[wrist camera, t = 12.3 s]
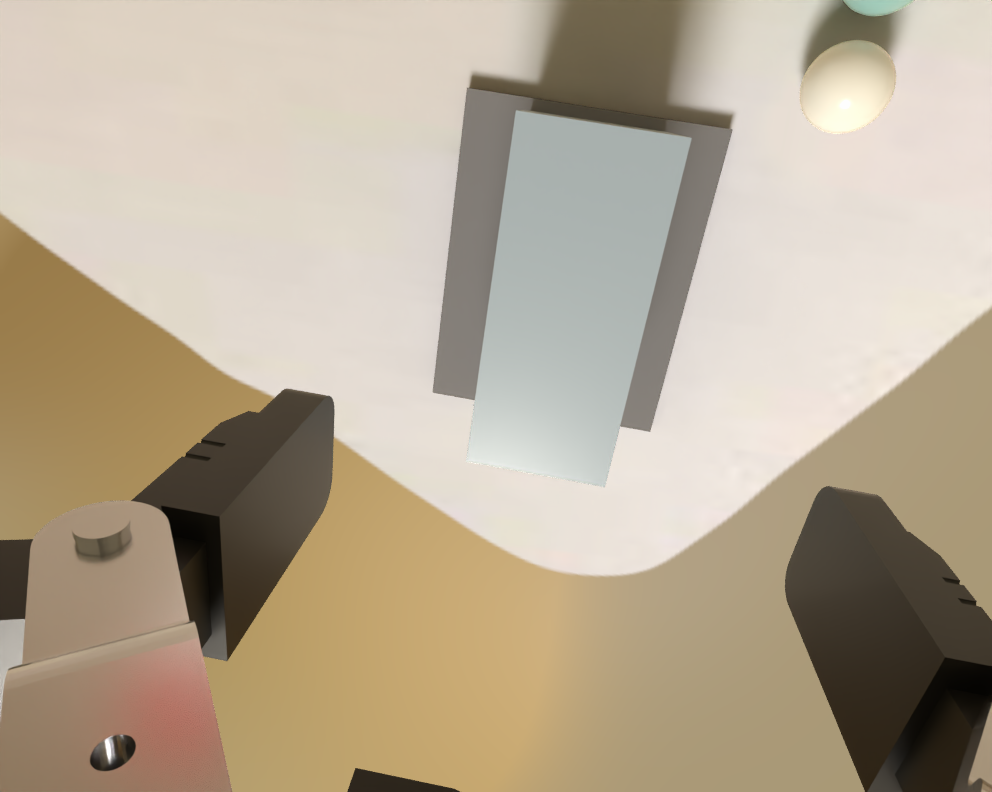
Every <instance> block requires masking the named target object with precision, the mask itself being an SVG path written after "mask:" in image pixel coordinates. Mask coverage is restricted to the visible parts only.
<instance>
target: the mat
mask: <svg viewBox="0 0 992 792" xmlns="http://www.w3.org/2000/svg"><path fill="white" fill-rule="evenodd" d="M516 110H524V111H536V112H542V113H549V114H555V115H561V116H568V117H574V118H581V119H587V120H593V121H600V122H606V123H613V124H619V125H625V126H632V127H638V128H644V129H651V130H657V131H664V132H668V133H673V134H677V135H681V136H686V137H690V138H692V139H691V143H690V147H689V151H688V155H687V159H686V163H685V167H684V171H683V175H682V179H681V183H680V187H679V191H678V195H677V199H676V203H675V207H674V211H673V215H672V219H671V223H670V227H669V231H668V235H667V240H666V244H665V248H664V252H663V256H662V260H661V264H660V268H659V272H658V276H657V280H656V284H655V288H654V292H653V296H652V300H651V304H650V308H649V312H648V316H647V320H646V324H645V328H644V332H643V336H642V340H641V344H640V348H639V352H638V356H637V360H636V364H635V368H634V372H633V376H632V380H631V384H630V388H629V392H628V396H627V400H626V404H625V408H624V412H623V416H622V420H621V424H620V426H621V427H627V428H633V429H638V430H644V431H649V432H650V430H651V426H652V423H653V419H654V415H655V412H656V408H657V404H658V401H659V397H660V393H661V390H662V386H663V382H664V379H665V375H666V371H667V368H668V364H669V360H670V357H671V353H672V349H673V346H674V342H675V338H676V335H677V331H678V327H679V324H680V320H681V316H682V313H683V309H684V305H685V302H686V298H687V294H688V291H689V287H690V283H691V280H692V276H693V272H694V269H695V265H696V261H697V258H698V254H699V250H700V247H701V243H702V239H703V236H704V232H705V228H706V225H707V221H708V217H709V214H710V210H711V206H712V203H713V199H714V195H715V192H716V188H717V184H718V181H719V177H720V173H721V170H722V166H723V162H724V159H725V155H726V151H727V148H728V144H729V140H730V137H731V133H732V129H726V128H720V127H713V126H707V125H701V124H694V123H688V122H682V121H675V120H669V119H662V118H656V117H650V116H643V115H637V114H631V113H624V112H618V111H612V110H605V109H599V108H593V107H586V106H580V105H573V104H567V103H561V102H554V101H548V100H542V99H535V98H529V97H523V96H516V95H510V94H504V93H497V92H491V91H484V90H478V89H472V88H467V93H466V102H465V111H464V120H463V129H462V138H461V146H460V155H459V164H458V173H457V182H456V191H455V199H454V208H453V217H452V226H451V235H450V244H449V253H448V261H447V270H446V279H445V288H444V297H443V306H442V315H441V323H440V332H439V341H438V350H437V359H436V368H435V377H434V385H433V393H438V394H444V395H449V396H455V397H460V398H466V399H472V400H475V395H476V388H477V381H478V374H479V367H480V360H481V353H482V346H483V339H484V332H485V325H486V318H487V311H488V304H489V297H490V289H491V282H492V275H493V268H494V261H495V254H496V247H497V240H498V233H499V226H500V219H501V212H502V205H503V198H504V191H505V184H506V177H507V170H508V162H509V155H510V148H511V141H512V134H513V127H514V120H515V113H516Z"/></svg>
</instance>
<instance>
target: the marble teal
mask: <svg viewBox="0 0 992 792" xmlns="http://www.w3.org/2000/svg"><path fill="white" fill-rule="evenodd" d="M843 1H844V3H845V4H846V5H847V6H848V7H849V8H850V9H852V10H853V11H855V12H857V13H859V14H862V15H866V16H883V15H888V14H891V13H894V12H896V11H898V10H901V9H903V8H904V7H906V6H908V5H909V4H911V3H912V2H913V1H914V0H843Z"/></svg>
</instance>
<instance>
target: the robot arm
mask: <svg viewBox="0 0 992 792" xmlns="http://www.w3.org/2000/svg"><path fill="white" fill-rule="evenodd" d="M333 438H334V402H333V399H332V398H331V397H330V396H326V395H320V394H315V393H309V392H303V391H298V390H292V389H284V390H283V391H282V392H281V393H280V394H278V395H277V396H276V397H275V398H274V399H273V400H272V401H271V402H270V403H269V404H268V405H267V406H266V407H265V408H264V409H263V410H262V411H261V412H259V413H256V412H250V411H248V412H246V413H243V414H241V415H238V416H236V417H234V418H231V419H229V420H226V421H224V422H222V423H220V424H219V425H218V426H216V427H215V428H214V429H213V430H212V431H211V432H209V433H208V434H207V435H206V436H205V437H204V438H203V439H202V441H201V443H197V444H196V445H195V446H194V447H192V448H191V449H190V450H189V451H188V452H187V453H186V456H185V457H181V458H180V459H178V460H177V461H176V462H175V463H174V464H173V465H172V466H170V467H169V468H168V469H167V470H166V471H165V472H164V473H162V474H161V475H160V476H159V477H158V478H157V479H156V480H154V481H153V482H152V483H151V484H150V485H149V486H147V487H146V488H145V489H144V490H143V491H142V492H141V493H139V494H138V495H137V496H136V497H135V498H134V499H133V500H131V501H108V502H100V503H95V504H90V505H86V506H83V507H80V508H77V509H74V510H71V511H69V512H67V513H64V514H63V515H60V516H59V517H57V518H55V519H54V520H52V521H50V522H49V523H48V524H46V525H45V526H44V527H43V528H42V529H41V530H40V531H39V532H38V533H37V534H36V535H35V537H34V539H30V540H0V792H232V789H231V784H230V779H229V775H228V770H227V766H226V761H225V756H224V752H223V747H222V743H221V738H220V733H219V729H218V724H217V719H216V715H215V710H214V705H213V701H212V696H211V691H210V687H209V682H208V677H207V673H206V668H205V664H204V659H203V656H205V657H210V658H215V659H220V660H224V661H227V660H228V659H229V657H230V656H231V654H232V653H233V651H234V650H235V648H236V647H237V645H238V644H239V642H240V640H241V639H242V637H243V636H244V634H245V633H246V631H247V629H248V628H249V626H250V625H251V623H252V622H253V620H254V619H255V617H256V615H257V614H258V612H259V611H260V609H261V608H262V606H263V605H264V603H265V602H266V600H267V598H268V597H269V595H270V594H271V592H272V591H273V589H274V588H275V586H276V584H277V582H278V581H279V579H280V578H281V577H282V575H283V574H284V572H285V570H286V569H287V567H288V566H289V564H290V563H291V561H292V560H293V558H294V556H295V555H296V553H297V552H298V550H299V549H300V547H301V546H302V544H303V542H304V541H305V539H306V538H307V536H308V534H309V533H310V532H311V530H312V528H313V527H314V525H315V524H316V522H317V521H318V519H319V518H320V516H321V514H322V513H323V511H324V508H325V506H326V503H327V500H328V497H329V493H330V489H331V483H332V467H333ZM959 582H960V580H959V579H958V577H957V576H956V575H955V574H954V573H953V571H952V570H951V569H950V567H949V566H948V565H947V564H946V562H945V561H944V560H943V559H942V557H941V556H940V555H939V554H937V553H936V552H935V551H933V550H932V549H931V548H930V547H928V546H927V545H926V544H924V543H923V542H922V541H921V540H919V539H918V538H917V537H915V536H914V535H913V534H911V533H910V532H907V531H906V530H905V529H904V527H903V526H902V524H901V523H900V522H899V520H898V519H897V518H896V516H895V515H894V514H893V512H892V511H891V510H890V508H889V507H888V506H887V505H886V503H885V502H884V501H883V499H882V498H881V497H879V496H878V495H875V494H869V493H864V492H858V491H852V490H846V489H841V488H836V487H830V486H828V487H824V488H823V489H821V490H820V492H819V493H818V494H817V496H816V498H815V500H814V502H813V505H812V507H811V510H810V512H809V514H808V517H807V519H806V522H805V524H804V527H803V529H802V532H801V534H800V536H799V539H798V542H797V544H796V546H795V549H794V551H793V554H792V556H791V559H790V561H789V564H788V567H787V571H786V579H785V592H786V598H787V602H788V605H789V607H790V610H791V612H792V615H793V617H794V620H795V622H796V624H797V627H798V629H799V632H800V634H801V637H802V639H803V642H804V644H805V646H806V649H807V651H808V653H809V656H810V659H811V661H812V663H813V666H814V668H815V671H816V673H817V676H818V678H819V680H820V683H821V685H822V688H823V690H824V692H825V695H826V697H827V700H828V702H829V705H830V707H831V710H832V712H833V714H834V717H835V719H836V722H837V724H838V727H839V729H840V732H841V734H842V736H843V739H844V741H845V744H846V746H847V749H848V751H849V753H850V756H851V758H852V761H853V763H854V766H855V768H856V770H857V773H858V775H859V778H860V780H861V783H862V785H863V787H864V790H865V792H992V620H991V619H990V618H989V616H988V615H987V614H986V613H985V611H984V610H983V609H982V608H981V607H978V606H976V600H975V599H974V598H973V596H972V595H971V594H970V593H969V591H968V590H967V589H966V588H965V586H964V585H960V584H959ZM348 792H460V791H457V790H456V789H452V788H448V787H443V786H438V785H434V784H429V783H424V782H419V781H415V780H410V779H405V778H400V777H396V776H391V775H385V774H381V773H376V772H372V771H367V770H362V769H358V768H355V771H354V774H353V777H352V780H351V783H350V786H349V789H348Z"/></svg>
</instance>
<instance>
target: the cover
mask: <svg viewBox="0 0 992 792" xmlns="http://www.w3.org/2000/svg"><path fill="white" fill-rule="evenodd" d="M691 139H692V138H690V137H686V136H681V135H677V134H673V133H668V132H664V131H657V130H651V129H644V128H638V127H632V126H625V125H619V124H613V123H606V122H600V121H593V120H587V119H581V118H574V117H568V116H561V115H555V114H549V113H542V112H536V111H524V110H516V113H515V120H514V127H513V134H512V141H511V148H510V155H509V162H508V170H507V177H506V184H505V191H504V198H503V205H502V212H501V219H500V226H499V233H498V240H497V247H496V254H495V261H494V268H493V275H492V282H491V289H490V297H489V304H488V311H487V318H486V325H485V332H484V339H483V346H482V353H481V360H480V367H479V374H478V381H477V388H476V395H475V402H474V409H473V416H472V424H471V431H470V438H469V445H468V452H467V459H466V462H470V463H475V464H481V465H486V466H492V467H497V468H503V469H508V470H514V471H519V472H524V473H530V474H535V475H541V476H546V477H552V478H557V479H563V480H568V481H573V482H579V483H584V484H590V485H595V486H601V487H605V485H606V481H607V477H608V473H609V469H610V465H611V461H612V457H613V453H614V449H615V445H616V441H617V437H618V432H619V428H620V424H621V420H622V416H623V412H624V408H625V404H626V400H627V396H628V392H629V388H630V384H631V380H632V376H633V372H634V368H635V364H636V360H637V356H638V352H639V348H640V344H641V340H642V336H643V332H644V328H645V324H646V320H647V316H648V312H649V308H650V304H651V300H652V296H653V292H654V288H655V284H656V280H657V276H658V272H659V268H660V264H661V260H662V256H663V252H664V248H665V244H666V240H667V235H668V231H669V227H670V223H671V219H672V215H673V211H674V207H675V203H676V199H677V195H678V191H679V187H680V183H681V179H682V175H683V171H684V167H685V163H686V159H687V155H688V151H689V147H690V143H691Z"/></svg>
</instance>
